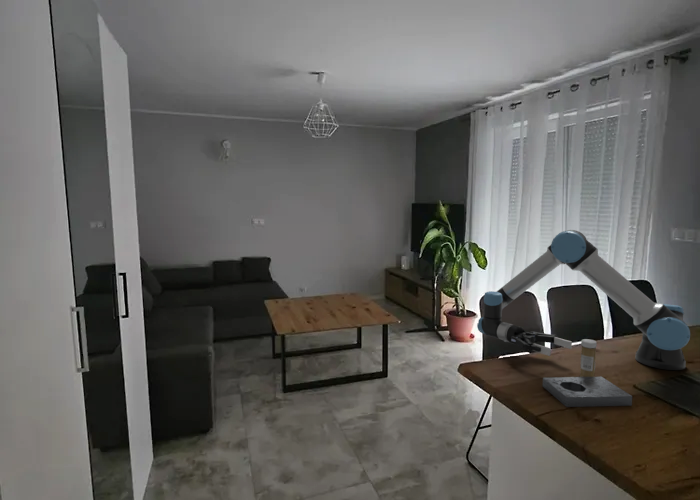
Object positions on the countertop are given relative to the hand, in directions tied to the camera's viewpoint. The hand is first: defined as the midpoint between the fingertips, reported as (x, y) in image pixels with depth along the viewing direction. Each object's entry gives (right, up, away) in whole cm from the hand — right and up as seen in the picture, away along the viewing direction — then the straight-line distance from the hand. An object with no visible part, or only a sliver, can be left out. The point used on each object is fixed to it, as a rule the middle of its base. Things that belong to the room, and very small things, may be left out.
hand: (561, 348), depth 146 cm
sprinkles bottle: (+5, -9, -7) cm, 13 cm away
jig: (-4, -10, -21) cm, 23 cm away
